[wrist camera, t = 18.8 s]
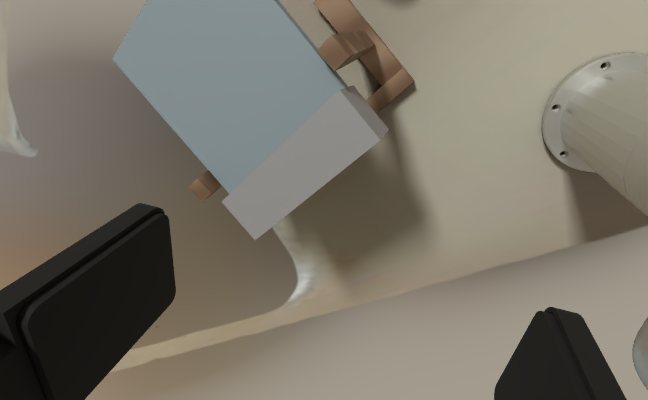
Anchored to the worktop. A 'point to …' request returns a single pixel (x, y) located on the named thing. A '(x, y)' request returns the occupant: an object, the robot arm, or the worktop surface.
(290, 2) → the worktop surface
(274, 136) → the trapdoor
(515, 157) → the worktop surface
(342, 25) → the stand
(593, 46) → the worktop surface
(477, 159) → the worktop surface
